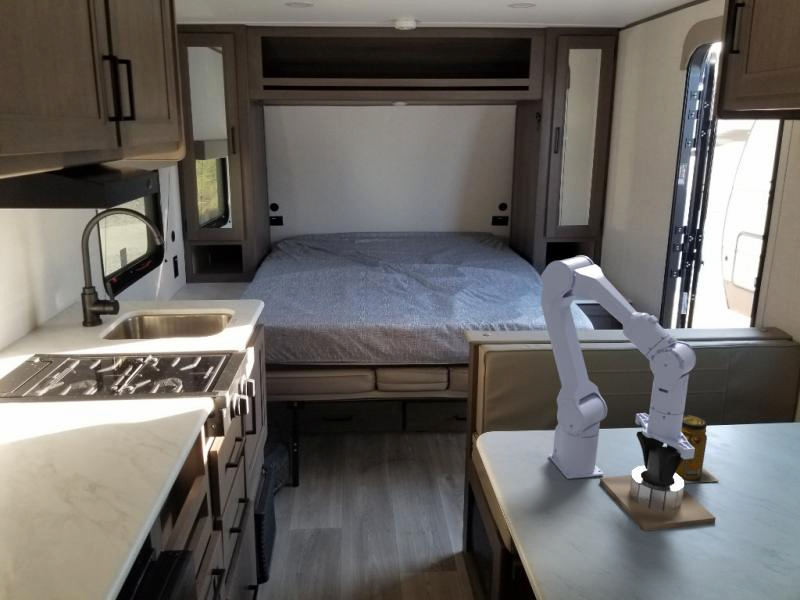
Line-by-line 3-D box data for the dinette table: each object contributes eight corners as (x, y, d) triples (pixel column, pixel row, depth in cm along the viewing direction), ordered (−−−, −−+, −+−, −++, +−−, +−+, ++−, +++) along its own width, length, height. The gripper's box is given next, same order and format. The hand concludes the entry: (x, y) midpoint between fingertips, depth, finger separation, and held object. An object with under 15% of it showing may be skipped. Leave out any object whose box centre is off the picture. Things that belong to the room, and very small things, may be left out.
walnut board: (599, 482, 127) (600, 478, 127) (663, 476, 129) (663, 471, 129) (644, 530, 112) (644, 525, 111) (714, 522, 114) (715, 517, 114)
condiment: (661, 465, 134) (668, 413, 131) (699, 464, 135) (707, 412, 131) (679, 484, 127) (686, 429, 124) (719, 482, 128) (728, 428, 124)
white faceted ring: (620, 486, 124) (623, 467, 123) (662, 482, 125) (665, 463, 124) (646, 513, 115) (649, 493, 114) (691, 508, 117) (694, 488, 116)
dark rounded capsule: (643, 483, 119) (647, 454, 117) (648, 473, 122) (651, 445, 120) (666, 489, 117) (670, 460, 115) (670, 479, 120) (674, 451, 118)
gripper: (624, 394, 121) (617, 458, 125) (673, 428, 108) (663, 498, 111) (657, 391, 123) (648, 454, 127) (708, 424, 109) (698, 493, 113)
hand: (657, 474), depth 119 cm, fingers closed on dark rounded capsule, 4 cm apart
